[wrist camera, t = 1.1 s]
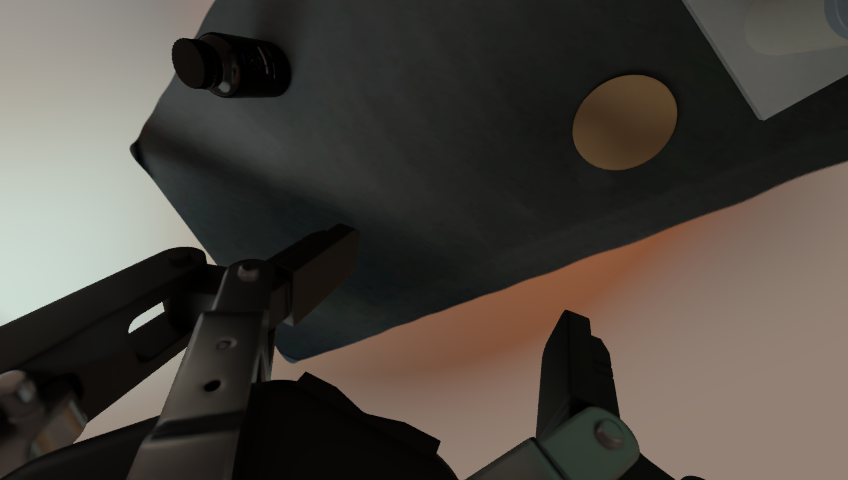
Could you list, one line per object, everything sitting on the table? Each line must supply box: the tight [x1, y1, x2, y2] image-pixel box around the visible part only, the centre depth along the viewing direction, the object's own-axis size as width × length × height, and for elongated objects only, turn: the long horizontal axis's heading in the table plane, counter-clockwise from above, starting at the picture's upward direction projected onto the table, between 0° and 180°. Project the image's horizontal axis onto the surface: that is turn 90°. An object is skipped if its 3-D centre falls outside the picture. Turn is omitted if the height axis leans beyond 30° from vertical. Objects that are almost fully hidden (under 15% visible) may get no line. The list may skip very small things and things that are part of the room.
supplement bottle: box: [172, 32, 291, 98], centre depth 40 cm, size 7×7×12 cm
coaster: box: [573, 75, 677, 170], centre depth 33 cm, size 9×9×1 cm
